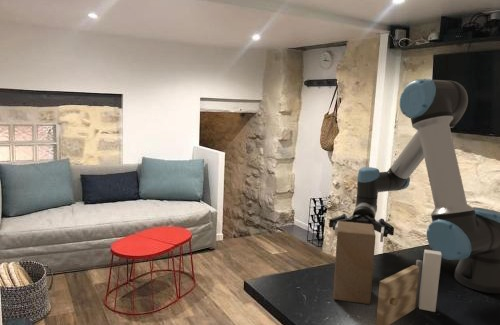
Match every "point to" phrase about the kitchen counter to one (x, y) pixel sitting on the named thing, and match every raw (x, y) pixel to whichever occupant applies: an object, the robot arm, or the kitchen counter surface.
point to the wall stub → (428, 280)
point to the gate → (397, 295)
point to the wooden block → (354, 262)
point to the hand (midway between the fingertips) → (358, 234)
